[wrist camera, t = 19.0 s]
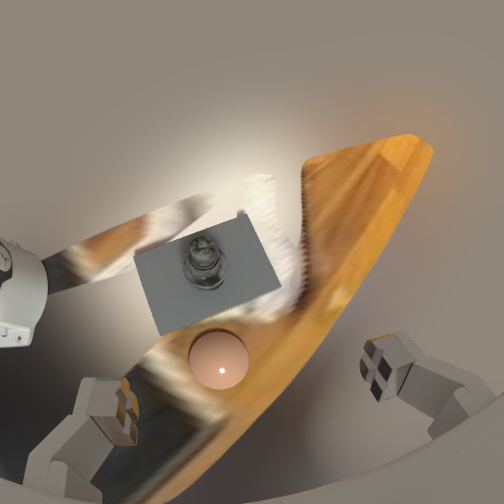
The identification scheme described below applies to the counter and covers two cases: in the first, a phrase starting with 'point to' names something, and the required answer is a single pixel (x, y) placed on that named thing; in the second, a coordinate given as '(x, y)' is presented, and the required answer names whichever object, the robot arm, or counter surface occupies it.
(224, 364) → the peach domed round part
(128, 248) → the counter surface
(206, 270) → the black rounded upright piece
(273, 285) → the slate board
